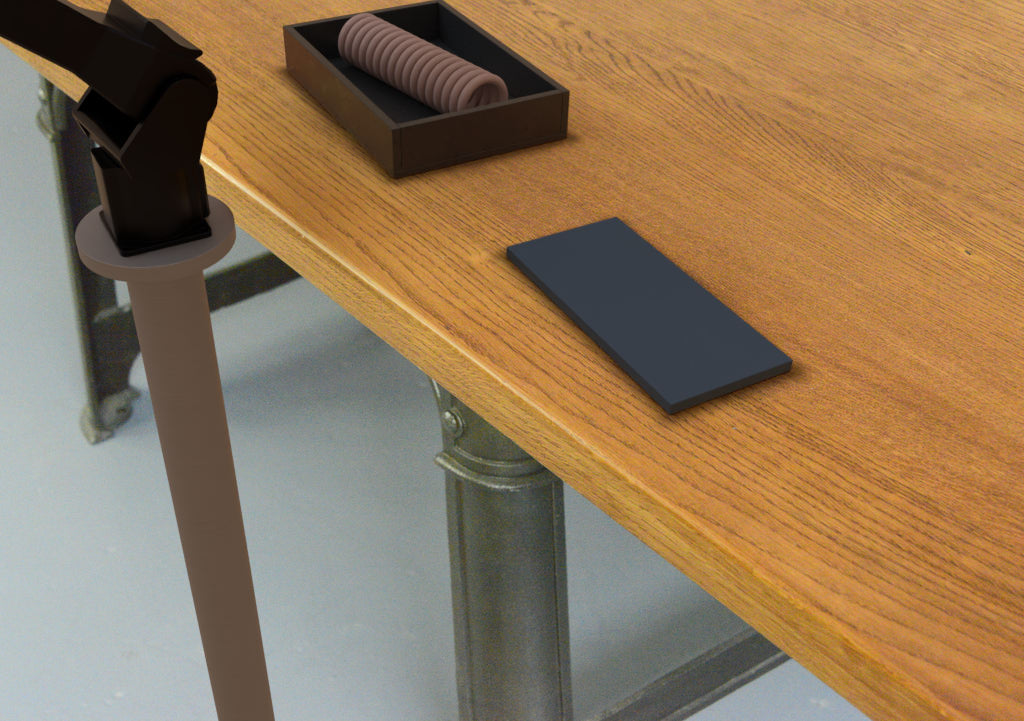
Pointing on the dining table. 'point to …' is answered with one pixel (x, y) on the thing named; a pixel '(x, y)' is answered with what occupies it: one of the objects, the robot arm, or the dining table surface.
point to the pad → (648, 314)
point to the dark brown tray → (411, 124)
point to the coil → (417, 66)
